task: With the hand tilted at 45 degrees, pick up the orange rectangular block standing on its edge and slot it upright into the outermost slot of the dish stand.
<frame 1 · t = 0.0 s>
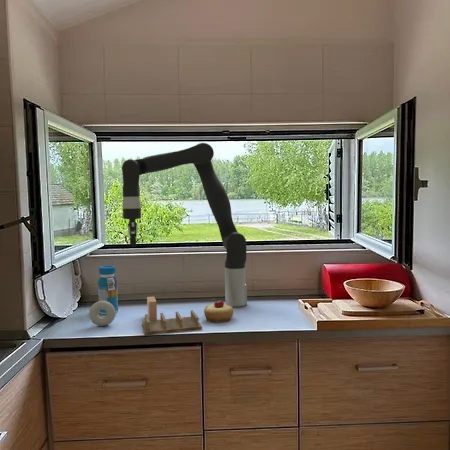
hand: (133, 245, 175), 29 cm above the table, tool pointing down, fingers open, 8 cm apart
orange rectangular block: (152, 318, 169), on the table
beverage bottle: (108, 312, 179), on the table
donut: (102, 326, 160), on the table
dish stand: (171, 326, 157), on the table
pastry: (218, 320, 166), on the table
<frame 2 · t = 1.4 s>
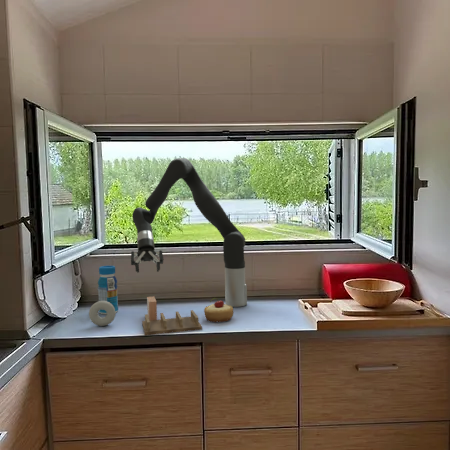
hand: (148, 271, 180), 17 cm above the table, tool tilted 45°, fingers open, 8 cm apart
nothing on the table moved.
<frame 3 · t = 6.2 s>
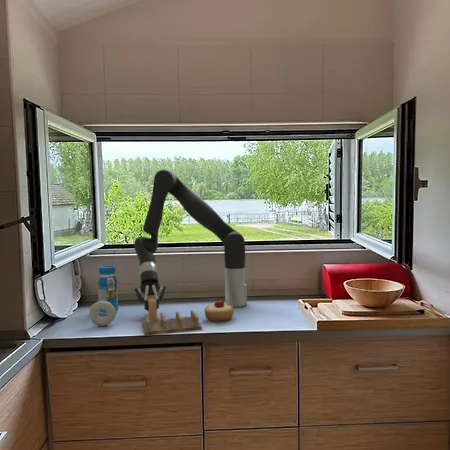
hand: (152, 309, 168), 4 cm above the table, tool tilted 45°, fingers closed on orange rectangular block, 3 cm apart
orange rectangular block: (152, 318, 169), on the table, touching gripper
everything else where it was.
when the fingers open (7 cm above the table, at t = 12.8 s): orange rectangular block drops 1 cm, resting on dish stand.
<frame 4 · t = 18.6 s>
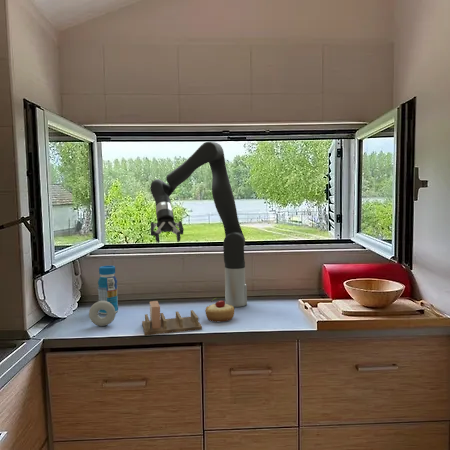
hand: (168, 241, 177), 31 cm above the table, tool tilted 45°, fingers open, 8 cm apart
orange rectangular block: (155, 324, 156), point 1 cm above the table, touching dish stand
everything else where it was.
at the end: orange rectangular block 0.7 cm from the target spot on the dish stand, point 1.2 cm above the dish stand's base; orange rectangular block tilted 0°; the gripper is holding nothing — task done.
